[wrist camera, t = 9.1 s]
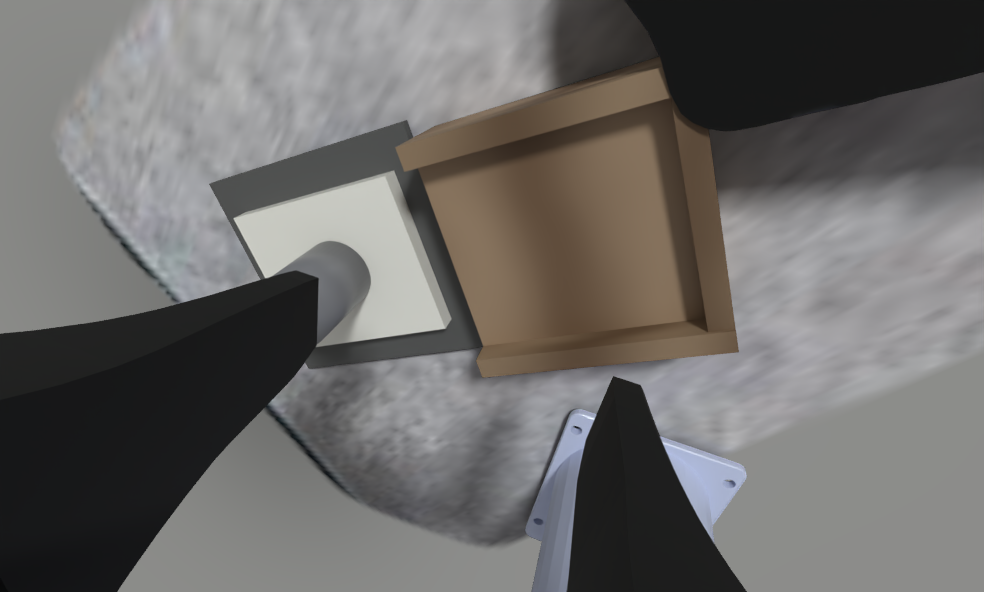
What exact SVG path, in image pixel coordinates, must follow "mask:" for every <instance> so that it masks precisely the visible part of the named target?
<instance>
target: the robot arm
mask: <svg viewBox="0 0 984 592" xmlns="http://www.w3.org/2000/svg"><path fill="white" fill-rule="evenodd" d="M318 287H319V278H318V277H315V276H312V275H309V274H306V273H303V272H300V271H297V270H295V271H290V272H286V273H282V274H279V275H275V276H272V277H268V278H265V279H262V280H259V281H255V282H252V283H249V284H246V285H242V286H239V287H236V288H233V289H229V290H226V291H223V292H219V293H216V294H213V295H210V296H206V297H202V298H199V299H195V300H191V301H187V302H184V303H180V304H176V305H173V306H169V307H165V308H161V309H157V310H153V311H149V312H144V313H140V314H135V315H130V316H126V317H120V318H115V319H110V320H104V321H99V322H93V323H86V324H78V325H71V326H64V327H56V328H49V329H42V330H34V331H25V332H15V333H4V334H0V592H117V591H118V590H119V588H120V586H121V585H122V583H123V582H124V581H125V579H126V578H127V576H128V575H129V573H130V572H131V571H132V569H133V568H134V566H135V565H136V563H137V562H138V560H139V559H140V558H141V556H142V555H143V553H144V552H145V551H146V549H147V548H148V546H149V545H150V543H151V542H152V541H153V539H154V538H155V536H156V535H157V534H158V532H159V531H160V530H161V528H162V527H163V526H164V524H165V523H166V522H167V520H168V519H169V518H170V516H171V515H172V514H173V512H174V511H175V510H176V508H177V507H178V506H179V504H180V503H181V502H182V500H183V499H184V498H185V496H186V495H187V494H188V493H189V491H190V490H191V489H192V488H193V486H194V485H195V484H196V482H197V481H198V480H199V479H200V478H201V476H202V475H203V474H204V472H205V471H206V470H207V469H208V467H209V466H210V465H211V463H212V462H213V461H214V460H215V459H216V457H218V456H219V454H220V453H221V452H222V451H223V450H224V449H225V448H226V446H228V444H229V443H230V442H231V441H232V440H233V439H234V438H235V437H236V436H237V435H238V434H239V433H240V432H241V431H242V430H243V429H244V428H245V427H246V426H247V425H248V424H249V423H250V422H251V421H252V420H253V419H254V418H255V417H256V416H257V415H258V414H259V413H260V412H261V411H262V410H263V409H264V408H265V407H266V406H267V405H268V403H269V402H270V401H271V400H272V399H273V398H274V397H275V396H276V395H277V394H278V393H279V392H280V391H281V390H282V389H283V388H284V387H285V386H286V385H287V384H288V383H289V382H290V380H291V379H292V378H293V377H294V376H295V375H296V373H297V372H298V371H299V369H300V368H301V367H302V365H303V364H304V363H305V361H306V360H307V359H308V357H309V356H310V354H311V353H312V351H313V350H314V349H315V347H316V346H317V324H318ZM573 426H578V427H580V429H576V428H574V427H573ZM746 477H747V476H746V471H745V468H744V467H743V465H741V464H739V463H736V462H734V461H730V460H728V459H725V458H722V457H719V456H716V455H713V454H710V453H707V452H705V451H702V450H699V449H696V448H693V447H690V446H687V445H684V444H681V443H678V442H676V441H673V440H670V439H667V438H664V437H661V436H660V435H659V433H658V430H657V428H656V425H655V422H654V420H653V417H652V414H651V412H650V409H649V406H648V403H647V400H646V397H645V394H644V392H643V389H642V387H641V385H638V384H635V383H632V382H629V381H626V380H623V379H620V378H617V377H614V376H613V378H612V380H611V383H610V385H609V387H608V389H607V392H606V394H605V396H604V399H603V401H602V403H601V406H600V408H599V410H598V413H597V414H594V413H591V412H588V411H586V410H582V409H575V410H573V411H572V412H571V413H570V415H569V417H568V420H567V423H566V425H565V428H564V430H563V433H562V435H561V438H560V440H559V443H558V445H557V448H556V450H555V453H554V456H553V458H552V461H551V463H550V466H549V468H548V471H547V473H546V476H545V478H544V481H543V483H542V486H541V489H540V491H539V494H538V496H537V499H536V501H535V504H534V506H533V509H532V511H531V514H530V516H529V519H528V522H527V524H526V528H525V532H526V534H527V535H528V536H530V537H532V538H534V539H537V540H539V541H542V544H541V549H540V553H539V558H538V563H537V567H536V572H535V577H534V582H533V587H532V592H747V591H746V590H745V589H744V587H743V586H742V584H741V583H740V582H739V580H738V579H737V577H736V576H735V574H734V573H733V572H732V570H731V569H730V567H729V566H728V564H727V563H726V561H725V560H724V558H723V557H722V555H721V554H720V552H719V551H718V549H717V547H716V546H715V544H714V536H713V527H712V526H713V525H714V523H715V522H716V520H717V519H718V518H719V516H720V515H721V513H722V512H723V511H724V509H725V508H726V506H727V505H728V503H729V502H730V501H731V499H732V498H733V497H734V495H735V494H736V492H737V491H738V489H739V488H740V487H741V485H742V484H743V483H744V481H745V480H746ZM728 479H729V480H732V481H725V480H728Z"/></svg>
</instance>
